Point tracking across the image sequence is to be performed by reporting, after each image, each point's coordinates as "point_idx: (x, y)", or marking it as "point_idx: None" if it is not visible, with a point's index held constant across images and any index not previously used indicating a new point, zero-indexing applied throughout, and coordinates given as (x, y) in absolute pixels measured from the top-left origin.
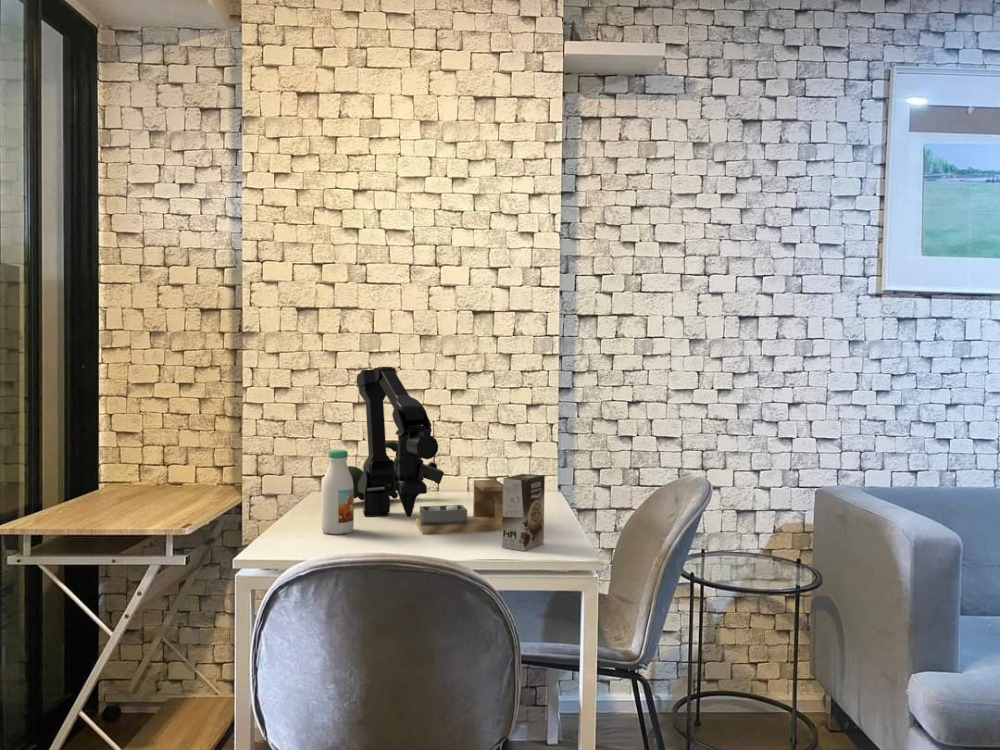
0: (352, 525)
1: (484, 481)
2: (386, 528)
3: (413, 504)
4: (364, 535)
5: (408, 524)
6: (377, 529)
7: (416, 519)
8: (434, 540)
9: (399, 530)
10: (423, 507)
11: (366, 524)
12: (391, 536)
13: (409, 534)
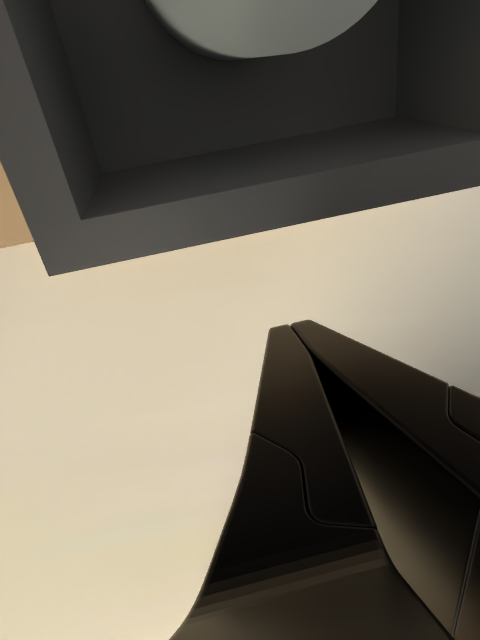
0: None
1: None
2: (199, 439)
3: (456, 398)
4: None
5: (13, 304)
6: (231, 480)
7: (5, 243)
8: None
9: None
10: (75, 191)
11: (76, 560)
12: (454, 370)
13: (430, 255)
